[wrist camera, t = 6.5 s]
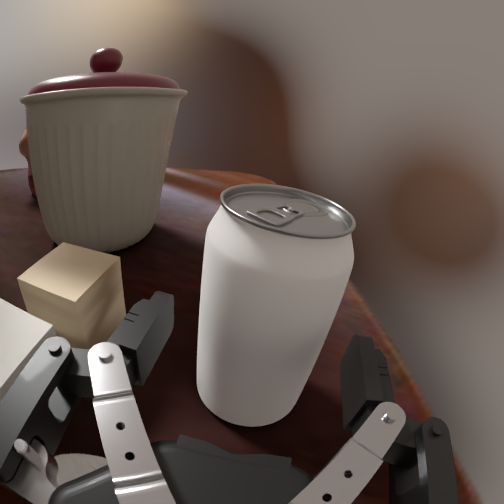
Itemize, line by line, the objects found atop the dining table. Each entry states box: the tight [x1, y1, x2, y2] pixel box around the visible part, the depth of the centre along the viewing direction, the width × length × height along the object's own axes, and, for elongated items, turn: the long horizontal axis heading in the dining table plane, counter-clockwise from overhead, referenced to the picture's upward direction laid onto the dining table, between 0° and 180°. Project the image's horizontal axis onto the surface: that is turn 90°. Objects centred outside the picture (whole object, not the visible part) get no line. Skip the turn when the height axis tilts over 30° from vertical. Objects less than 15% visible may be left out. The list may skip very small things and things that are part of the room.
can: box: [197, 184, 356, 427], centre depth 15 cm, size 6×6×12 cm
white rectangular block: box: [0, 298, 57, 403], centre depth 11 cm, size 5×5×6 cm
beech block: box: [17, 242, 126, 349], centre depth 17 cm, size 5×5×6 cm
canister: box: [20, 48, 187, 253], centre depth 27 cm, size 18×18×21 cm
